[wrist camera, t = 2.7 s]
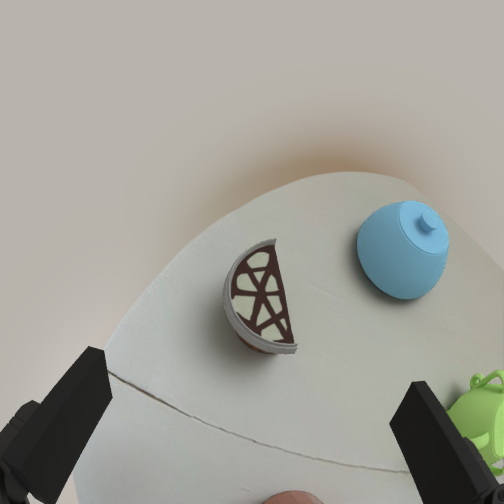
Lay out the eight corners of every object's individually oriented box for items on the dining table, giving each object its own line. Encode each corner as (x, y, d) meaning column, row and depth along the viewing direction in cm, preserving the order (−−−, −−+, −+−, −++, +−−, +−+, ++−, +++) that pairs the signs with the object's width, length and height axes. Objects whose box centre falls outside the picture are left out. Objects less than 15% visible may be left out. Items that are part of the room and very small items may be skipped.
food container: (218, 279, 39) (216, 238, 30) (264, 274, 40) (275, 234, 31) (229, 371, 33) (231, 359, 24) (280, 364, 34) (299, 349, 25)
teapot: (465, 362, 34) (521, 338, 24) (501, 407, 30) (553, 393, 19) (413, 444, 28) (476, 445, 17) (456, 485, 24) (513, 490, 13)
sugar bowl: (345, 217, 46) (372, 167, 36) (418, 226, 47) (451, 185, 37) (358, 304, 38) (399, 266, 28) (437, 303, 39) (483, 271, 29)
